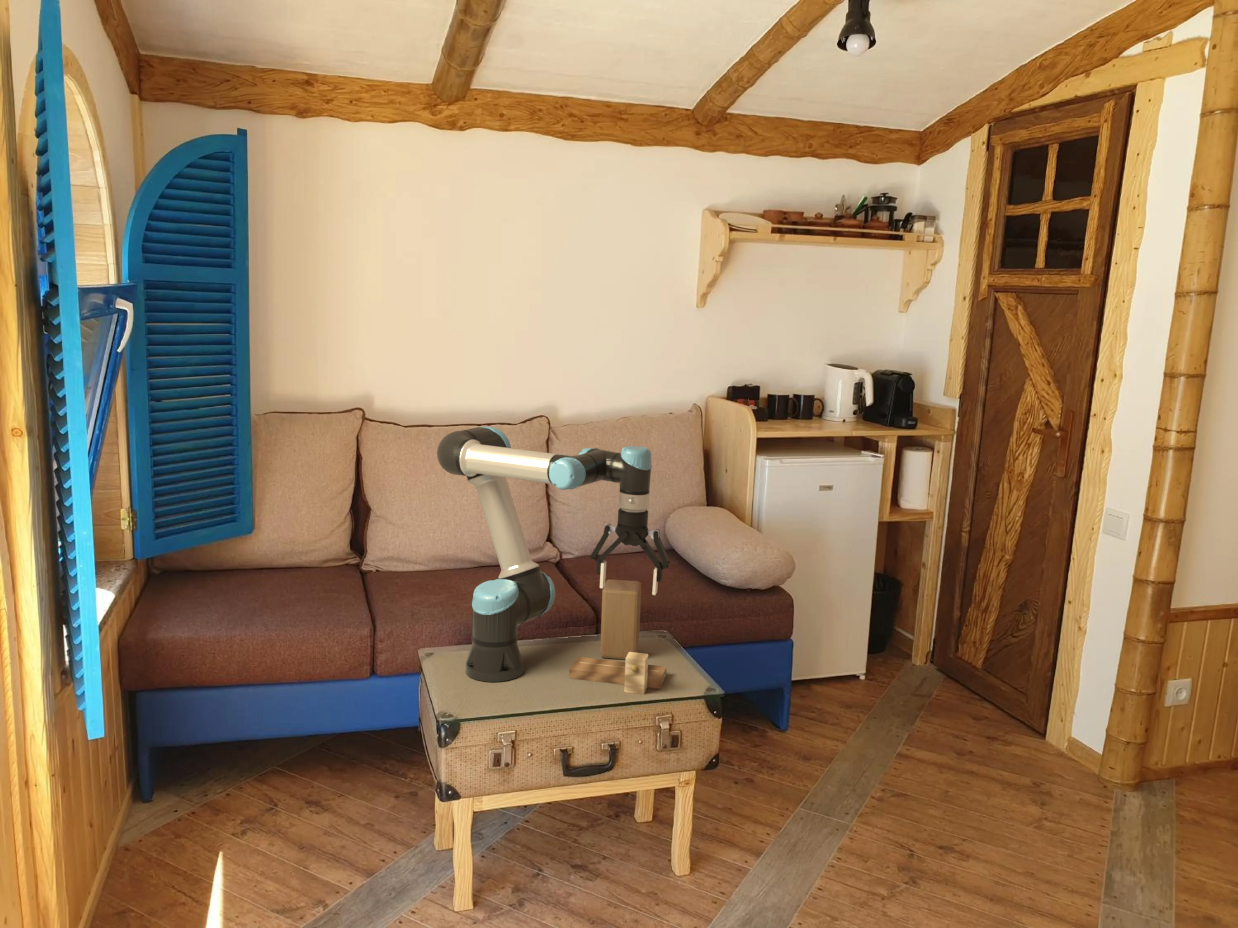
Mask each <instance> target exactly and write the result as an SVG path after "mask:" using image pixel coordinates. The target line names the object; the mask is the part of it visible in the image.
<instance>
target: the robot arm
mask: <svg viewBox="0 0 1238 928" xmlns="http://www.w3.org/2000/svg"><path fill="white" fill-rule="evenodd" d="M436 450H437V451H436V456H437V457H436V458H437V462H438V463H439V465H440V467H441V468H442V469H443V470H444V471H445V472H447V473H449V474H450V475H455V476H462V477H463V476H465V477H466V479H467V482H468V483H469V484H471V485H473V486H474V487H475V489H476V493H477V495H478V498H479V501H480V505H481V509H482V511H483V515H484V518H485V521H486V524H487V528H488V530H489V534H490V537H491V541H492V544H493V547H494V551H495V554H496V556H497V560H498V563H499V564H498V565H499V566H500V569H501V570H500V573H499V575H498V577H497V578H498V579H494V580H491V579H490V580H487V581H484V582H482V583H480V584H479V585H477V586H476V587H475V589H474V590H473V595H472V600H471V607H472V644H471V646H470V649H469V652H468V654H467V657H466V661H465V669H464V670H465V674H466V676H468V677H469V678H471V679H474V680H476V681H481V682H487V683H488V682H489V683H491V682H493V683H496V682H507V681H511V680H513V679H516V678H519V677H520V676H521V675H522V674H523V673H524V667H525V666H524V665H525V663H524V660H523V657H522V654H521V650H520V647H519V645H518V644H519V643H518V626H521V625H522V624H525V623H527V622H529V621H531V620H533V619H538V618H540V617H541V616H543V615H544V614H546V613H547V612H548V611H549V610H551V608H552V606H553V605H554V602H555V599H556V589H555V584H554V581H553V580H552V579H551V577H550V576H548V575H547V574H546V573H545V572H543V571H541V568H540V564H539V563H536V562H535V561H533V560H532V556H531V554H530V551H529V547H528V543H527V542H526V538H525V536H524V535H525V534H524V531H523V528H522V526H521V522H520V519H519V515H518V512H517V510H516V509H517V508H516V505H515V502H514V498H513V495H512V493H511V489H510V487H509V482H508V480H507V479H512V480H521V481H527V482H534V483H540V484H541V483H542V484H548V485H553V486H554V487H555V488H557V489H559V490H562V491H566V490H574V489H577V488H580V487H583V486H585V485H589V484H593V483H596V482H599V481H600V482H601V481H604V482H605V481H607V482H612V483H617V484H619V492H618V493H619V494H618V495H619V496H618V507H619V509H618V510H617V525H616V526H615V525H612V523H607V524H606V525H604V528H603V529H604V530H603V534H602V536H601V537H600V539H599V540H598V542H597V544H596V546H595V548H594V549H593V551H592V553H591V554H590V556H589V558H590V559H591V560H594V561H595V562H596V574H597V575H600V577H599V589H603V588H604V586H605V583H606V575H607V574H606V573H607V560H605V559H606V558H607V557H608V556H609V555H610V554H611V553H612V552H613V551H614V550H615V549H616V548H617V547H618V546H619V545H621V543H622V544H624V546H633V547H638V546H639V547H640V549H642V550H643V551H644V553H645V554H646V555H647V556H648V558H649V560H650V561H651V562H652V564H653V565H654V566H655V567H654V569H653V575H652V576H653V579H652V591H651V594H652V596H656V595H657V593H658V584H659V583H661V581H662V580H663V573H664V569H669V567H670V566H671V564H672V563H671V561H670V558H669V556H668V553H667V551H666V549H665V547H664V544H663V541H662V539H661V530H660V529H659V528H656V529H653V530H652V529H651V530H650V529H649V528H648V520H649V519H648V518H649V511H648V509H649V507H650V506H649V505H650V487H651V474H652V473H651V472H652V468H653V466H652V452H651V450H650V449H649V448H648V447H644V446H635V445H628V446H624V447H623V448H622V449H621V452H618V451H617V452H616V451H610V450H604V449H600V448H599V447H598V448H597V447H595V448H590V447H585V448H582V450H581V451H580V452H579V453H578V454H577V455H567V454H558V453H550V452H545V451H544V452H543V451H535V450H528V449H518V448H512V445H511V443H510V440H509V438H508V436H507V435H506V433H504V432H503V431H502V430H500V429H498V427H493V426H479V427H478V426H477V427H473V428H468V429H463V430H456V431H452V432H450V433H448V434H446V435H445V436H444V437H443V438H441V440H440V442H439V444H438V446H437V449H436ZM613 532H615V533H616V535H617V537H618V538H616V539H615V540H614V542H613V543H612V544H611V545H610V546H608V548H607V549H606V550H605V551H604V552H602V554H599V553H600V551H601V550H602V548H603V547H604V545H605V543H606V541H607V539H608V538H609V537H610V535H612V534H613ZM648 536H650V538H651V539H652V540H653V543H654V546H655V548H656V550H657V552H658V555H659V556H658V555H657V554H656V552H655V551H654V549H653V548H652V547H651V545H650V544H649V541H648V540H647V539H646V538H647V537H648ZM659 557H660V558H659Z"/></svg>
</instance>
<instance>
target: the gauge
mask: <svg viewBox="0 0 1238 928" xmlns="http://www.w3.org/2000/svg"><path fill="white" fill-rule="evenodd" d="M624 662H625V685H624V689H623V690H624V693H630V694H637V695H638V694H640V695H645V693H646V690H647V688H648V687H647V676H648V665H649V654H648V653H644V652H638V653H635V652H629V653H628V655H627V657H626V659H625V660H624Z"/></svg>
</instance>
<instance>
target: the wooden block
mask: <svg viewBox="0 0 1238 928" xmlns="http://www.w3.org/2000/svg"><path fill="white" fill-rule="evenodd" d="M601 594H602V596H601V618H600V619H601V621H600V622H601V624H600V625H601V627H600V628H601V629H600V651H599V652H600V658H604V659H615V660H617V659H618V660H626V657H627V655H628V653H629V652H635V653H639V652H638V651H639V647H640V633H641V630H640V626H641V602H642V583H641V582H640V581H639V580H625V579H606V580H605V586H604V587H603V588H602V593H601Z"/></svg>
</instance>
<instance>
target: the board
mask: <svg viewBox="0 0 1238 928" xmlns="http://www.w3.org/2000/svg"><path fill="white" fill-rule="evenodd" d="M568 670H569V671H568V672H569V675H568V678H569V679H571V680H572V679H573V680H582V681H589V682H590V681H591V682H600V683H608V684H613V685H614V684H616V685H624V686H625V661H619V660H611V659H610V660H609V659H601V658H592V657H585V656H584V657H583V656H577V657H576V659H575V661H574V662H572V665H571V666H570V668H569V669H568ZM666 677H667V666H664V665H663V666H662V665H654V664H648V676H647V688H650V689H659V690H661V689H662V685H663V683H664V681H665V678H666Z"/></svg>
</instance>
